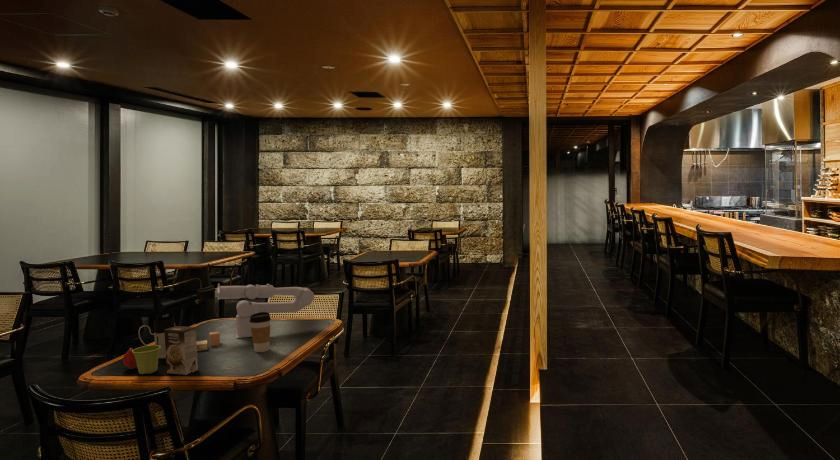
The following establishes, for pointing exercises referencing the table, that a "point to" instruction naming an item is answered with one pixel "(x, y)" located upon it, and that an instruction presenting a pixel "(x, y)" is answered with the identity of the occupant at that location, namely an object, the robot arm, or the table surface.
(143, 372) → the plant pot
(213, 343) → the painted block
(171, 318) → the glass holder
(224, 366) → the table surface
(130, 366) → the onion
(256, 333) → the coffee cup
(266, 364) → the table surface
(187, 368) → the coffee box
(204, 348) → the birch base
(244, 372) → the table surface
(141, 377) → the table surface
